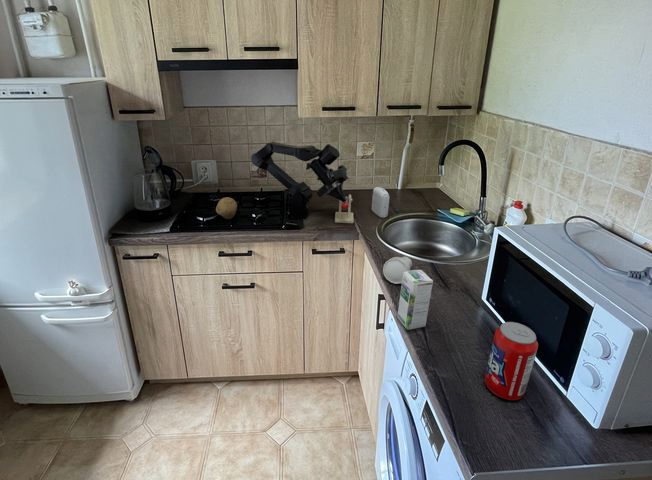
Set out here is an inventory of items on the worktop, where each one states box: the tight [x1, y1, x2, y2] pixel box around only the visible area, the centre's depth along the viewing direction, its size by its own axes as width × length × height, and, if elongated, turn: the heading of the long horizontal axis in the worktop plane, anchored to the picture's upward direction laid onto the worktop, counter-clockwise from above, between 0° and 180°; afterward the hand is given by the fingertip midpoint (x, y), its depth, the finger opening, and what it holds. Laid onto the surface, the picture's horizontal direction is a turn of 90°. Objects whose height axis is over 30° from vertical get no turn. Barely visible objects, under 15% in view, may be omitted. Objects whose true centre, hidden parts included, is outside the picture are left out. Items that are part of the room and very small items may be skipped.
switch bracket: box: [334, 194, 354, 224], centre depth 167 cm, size 10×8×11 cm
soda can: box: [484, 321, 539, 401], centre depth 80 cm, size 8×8×15 cm
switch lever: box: [341, 195, 349, 210], centre depth 161 cm, size 12×3×3 cm, turn 174°
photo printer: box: [371, 186, 390, 219], centre depth 173 cm, size 10×4×12 cm, turn 17°
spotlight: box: [382, 256, 413, 285], centre depth 123 cm, size 8×11×8 cm
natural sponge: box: [215, 196, 238, 220], centre depth 165 cm, size 9×9×10 cm
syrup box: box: [396, 269, 434, 331], centre depth 100 cm, size 6×6×14 cm
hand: (345, 201), depth 157 cm, fingers closed
